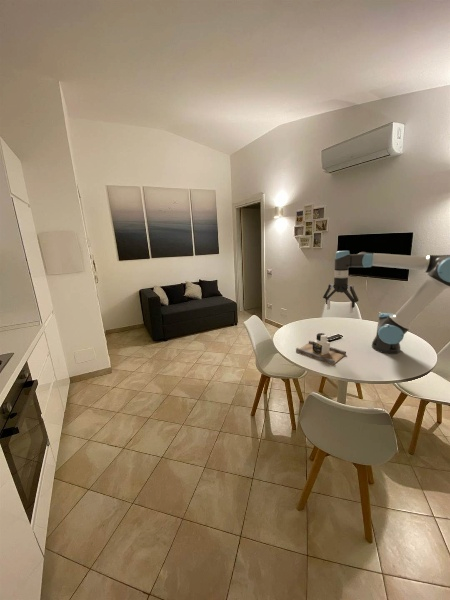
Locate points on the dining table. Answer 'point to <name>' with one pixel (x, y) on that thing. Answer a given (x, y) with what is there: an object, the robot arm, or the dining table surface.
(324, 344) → the medicine bottle
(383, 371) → the dining table surface
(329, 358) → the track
